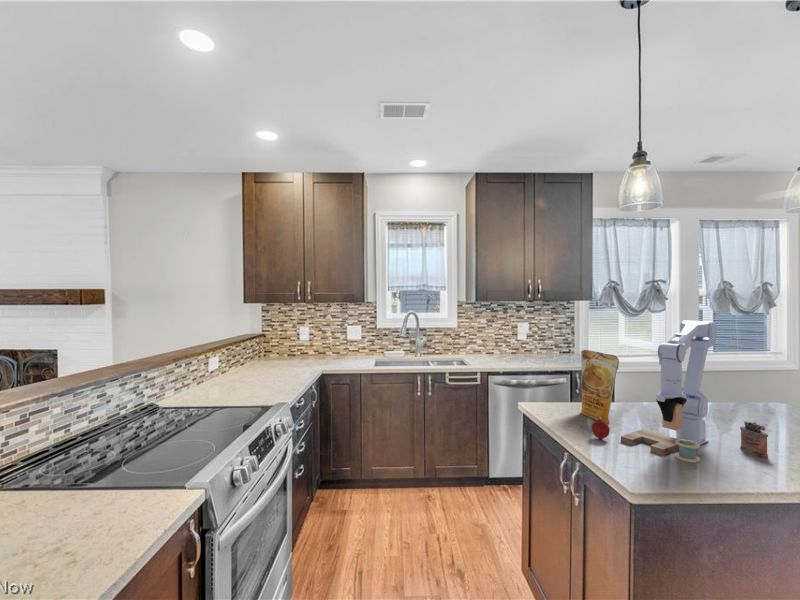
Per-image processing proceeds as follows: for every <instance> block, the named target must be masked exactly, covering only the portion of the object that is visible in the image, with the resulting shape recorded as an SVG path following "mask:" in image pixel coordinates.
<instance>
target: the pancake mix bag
mask: <svg viewBox="0 0 800 600" xmlns="http://www.w3.org/2000/svg"><path fill="white" fill-rule="evenodd" d="M580 353H581V373H580V374H581V379H580V380H581V399H582V400H581V415H583V416H585V417H588V418H589V419H591V420H594V421H597V420H598V419H599V418H600V417H601V418H602V420H603V421H605V422H606V423H607V424H610V419H609V416H610V415H609V413H610V409H611V405H612V397H613V392H614V388H615V384H616V383H615V382H616V377H617V376H616V375H617V371H618V369H619V365H620V364H619V362H620V361H619V358H618V357H617V356H616V355H614V354H608V353H603V352H599V351H595V350H589V349H588V350H587V349H582V350H581V351H580Z"/></svg>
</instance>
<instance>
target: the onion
mask: <svg viewBox="0 0 800 600" xmlns="http://www.w3.org/2000/svg"><path fill="white" fill-rule="evenodd" d="M610 431H611V429H610V426H609V423H606V422H605V421H603V420H602V418H601V417H600V418H599V419H598V420H597V421H596V420H594V422H593V423H592V425H591V432H592V434H593V435H594V436H595V437H596V438H597V439H598V440H604V439H605V438H607V437H608V436H609V434H610Z"/></svg>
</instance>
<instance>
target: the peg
mask: <svg viewBox="0 0 800 600" xmlns="http://www.w3.org/2000/svg"><path fill="white" fill-rule="evenodd" d="M661 421H662V422H661V423H662V428H664V429H669V430H673V431H676V430H679V429H682V404H678V403H677V404H676V406H675V409H674V412H673V419H672V422H668V421H664V419H663V417H662V420H661Z"/></svg>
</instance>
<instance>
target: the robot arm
mask: <svg viewBox="0 0 800 600" xmlns="http://www.w3.org/2000/svg"><path fill="white" fill-rule="evenodd" d="M717 330H718V329H717V324H716V322H715V321H714V320H711V321H708V320H706V321H705V320H686V319H684V320H682V321H681V323H680V325H679V333H678V332H676V333H675V334H673V336H671V338H669V340H668V341H667V342H663V343H660V344H659V345H658V346H657V358H658V361H659V362H658V363H659V365H660V391H659V393H658V394H656V400H655V401H656V403H657V404H658V407H659V408H660V412H661V415H662V418H663V419H664V421H668V422H672V419H673V412H674V409H675V406H676V404H677V403H678V404H682V429H679V430H676V432H675V434H676V435H675V436H672V437H673V438H676V439H686V440H691V441H694V442H697V443H699V444H700V446H701V445H704V444H706V443H707V442H710V440H709V439H707V434H706V433H707V431H706V428H707V425H706V424H707V423H706V420H705V419H704V418H705V417H707V415H708V409H709V405H708V404H709V399H708V397H707V396H706V394H704V393H703V392H701V385H702V379H703V375H704V369H705V363H706V361H707V358H706V357H707V356H708V355H707V354H708V352H709V348H712V347H714V346H715V343H716V339H717V335H718V331H717ZM688 349H690V352H689V357H688V361H687V367H686V372H685V375H684V381H683V374H682V373H683V365H682V364H683V361H684V360H685V358H686V354H687V351H688Z"/></svg>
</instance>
